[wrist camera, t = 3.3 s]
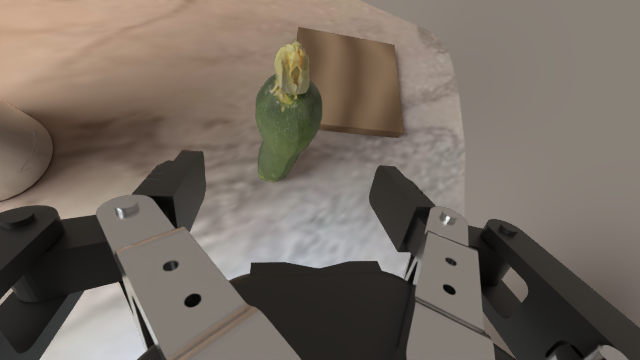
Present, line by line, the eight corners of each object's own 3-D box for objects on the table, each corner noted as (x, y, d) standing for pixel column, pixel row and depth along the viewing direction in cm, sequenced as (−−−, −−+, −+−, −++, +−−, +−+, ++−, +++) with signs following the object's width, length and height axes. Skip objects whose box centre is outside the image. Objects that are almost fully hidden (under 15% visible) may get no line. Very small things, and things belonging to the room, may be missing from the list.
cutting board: (295, 127, 31) (296, 121, 30) (296, 36, 35) (298, 27, 34) (397, 137, 34) (403, 132, 33) (389, 52, 38) (394, 45, 37)
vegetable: (269, 148, 30) (286, -30, 11) (301, 166, 30) (372, 22, 11) (249, 180, 28) (230, 35, 9) (284, 198, 28) (331, 94, 10)
